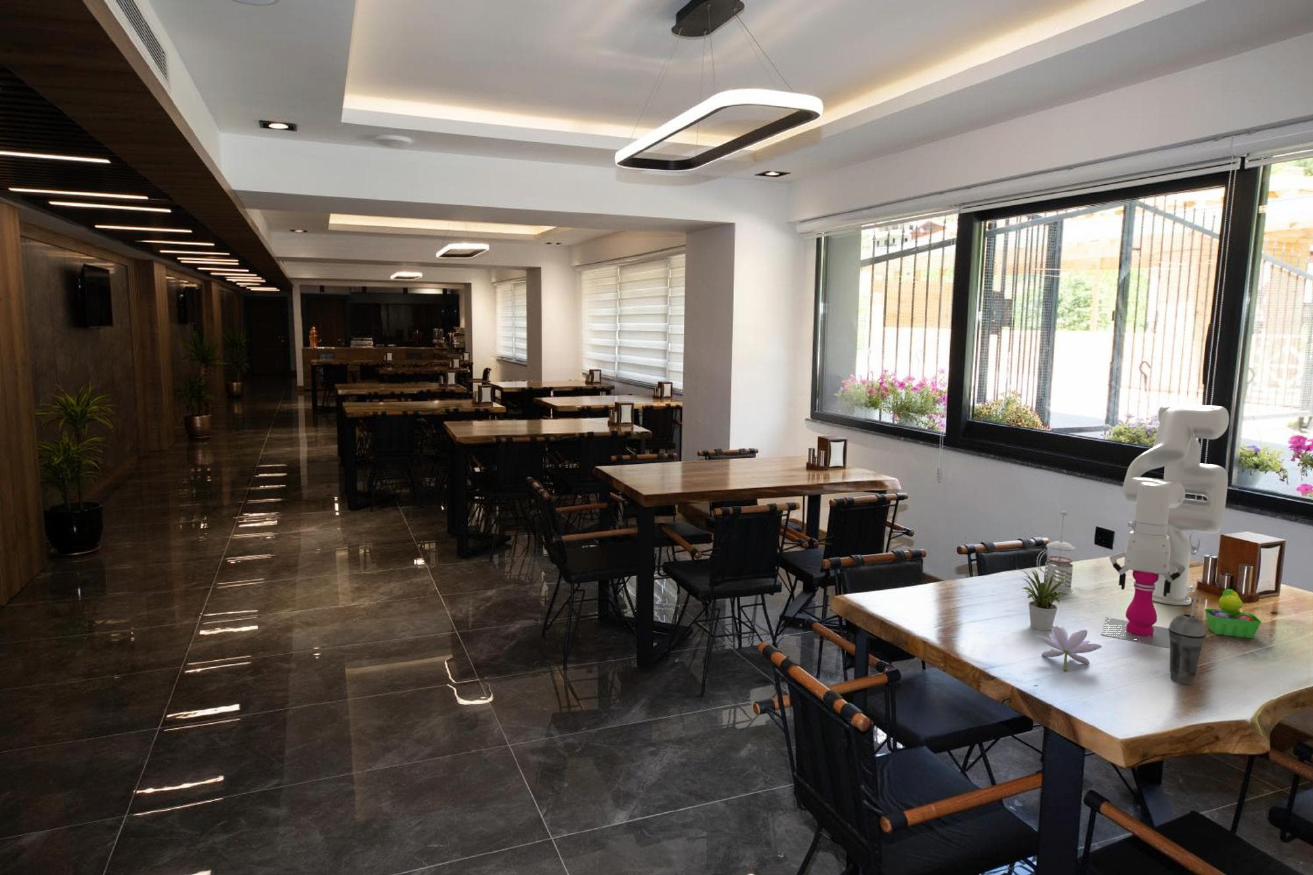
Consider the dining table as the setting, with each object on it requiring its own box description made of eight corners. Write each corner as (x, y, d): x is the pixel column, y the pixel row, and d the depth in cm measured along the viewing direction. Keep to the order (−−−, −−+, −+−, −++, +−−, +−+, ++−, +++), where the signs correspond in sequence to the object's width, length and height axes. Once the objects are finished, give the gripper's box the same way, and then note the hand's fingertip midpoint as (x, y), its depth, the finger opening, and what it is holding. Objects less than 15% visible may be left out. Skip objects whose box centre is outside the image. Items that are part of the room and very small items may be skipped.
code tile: (1101, 634, 214) (1101, 634, 214) (1105, 617, 229) (1105, 616, 229) (1177, 649, 205) (1177, 648, 205) (1176, 630, 220) (1177, 629, 220)
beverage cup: (1155, 673, 189) (1164, 591, 187) (1184, 673, 190) (1194, 591, 188) (1178, 687, 182) (1187, 601, 180) (1208, 686, 183) (1218, 601, 180)
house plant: (999, 625, 220) (1004, 567, 218) (1017, 613, 230) (1022, 558, 228) (1055, 639, 210) (1060, 578, 208) (1071, 626, 220) (1076, 568, 218)
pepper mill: (1147, 628, 220) (1154, 556, 218) (1160, 637, 213) (1168, 564, 211) (1119, 626, 221) (1126, 555, 218) (1132, 636, 214) (1139, 562, 211)
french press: (1080, 594, 250) (1087, 515, 247) (1042, 593, 250) (1049, 514, 247) (1065, 584, 259) (1071, 508, 256) (1028, 583, 259) (1035, 507, 256)
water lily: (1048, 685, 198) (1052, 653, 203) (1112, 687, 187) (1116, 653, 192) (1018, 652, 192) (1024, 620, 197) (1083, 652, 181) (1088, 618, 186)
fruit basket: (1210, 634, 217) (1214, 594, 216) (1200, 624, 225) (1205, 584, 224) (1260, 641, 213) (1265, 599, 212) (1249, 630, 221) (1253, 590, 220)
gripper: (1111, 526, 215) (1105, 589, 217) (1189, 536, 206) (1182, 601, 208) (1113, 521, 221) (1107, 582, 223) (1189, 531, 212) (1181, 594, 214)
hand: (1143, 591), depth 215 cm, fingers open, 9 cm apart
